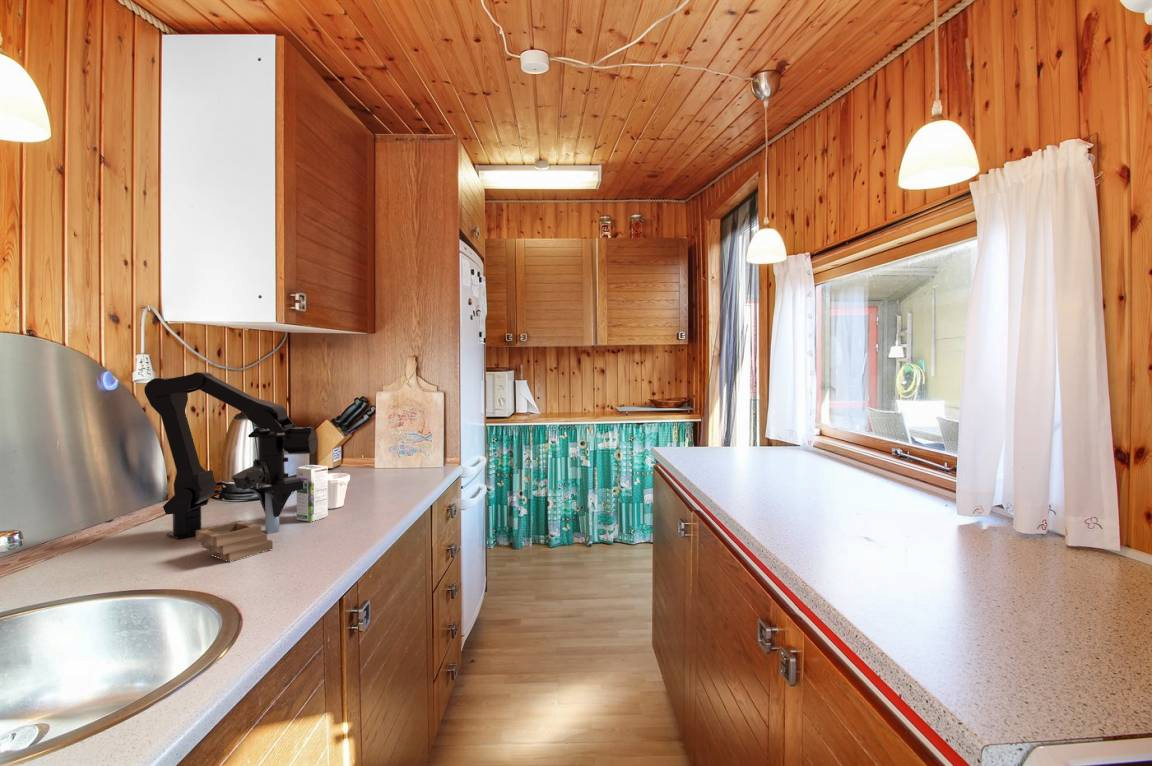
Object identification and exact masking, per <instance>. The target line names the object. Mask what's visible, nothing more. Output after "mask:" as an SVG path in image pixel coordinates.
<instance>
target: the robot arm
mask: <svg viewBox="0 0 1152 766" xmlns="http://www.w3.org/2000/svg"><path fill="white" fill-rule="evenodd" d="M143 391H144V395H145V397H146V399H147V402H148V403H149V405H150V406H151V408H153V410H154V411H156V413H157V414H158V415H160V418H161V421H162V424H163V428H164V433H165V435H166V439H167V442H168V445H169V449H170V453H171V455H172V456H171V457H172V459H173V462H174V463H173V464H174V466H175V470H176V471H175V472H176V473H175V477H174V481H173V493H174V495H173V496H172V497H171V498H170V499H169V500H168V501H167V502H166V503H164V505H163V506H162V509H163V512H164V513H165V514H166V515H172V531H169V532H167V533H166V536H168V537H171V538H174V539H177V540H181V539H185V538H189V537H193V536H196V531H197V530H201V529H204V528H203V527H202V524H203V523H202V507H204V506H206V505H208V502H209V500H210V498H212V497H213V495H214V493H215V491H216V486H217V485H218V483H217V482H216V480H215V477H214V471H213V469H209V470H206V469H205V468H203V467H202V465H201V463H200V459H199V455H198V452H197V449H196V446H195V441H194V438H193V434H192V432H191V428H190V427H191V426H190V425H189V420H188V417H187V413H186V408H187V405H188V401H189V395H188V394H190V393H194V392H197V391H201V392H203V393H205V394H207V395H209V396H211V397H213V398H215V399H217V400H218V401H221V402H222V403H224V404H227V405H228V406H230V407H232V408H234V409H235V410H238V411H240V412H241V413H242V414H244V416H245V417H246V419H248V421H250V422H251V423H253V424H254V425H255V426H257V427H255V428H254V430H253V431H252V432H251V433H249V434H248V436H247V437H248V438H257V457H258V458H255V459H254V460H253V464H252V466H251V467H248V468H247V467H246V468H245V469H243V470H241V471H239V472H237V473H235V474H233V475H232V476H231V479H232V481H233V484H234V485H235V487H236V489H241V490H243V491H245V490H250V491H251V492H253V493H254V494H256V495H257V497H258V499H259V501H260V504H261V506H262V509H263V511H264V513H265V493H266V494H268V495H269V496H270V497H271V500H272V508H273V514H274V517H278V516H279V517H280V516H281V513H282V511H283V509H284V507H285V505H286V503H287V501H288V499H289V498H290V496H291V494H292V493H293V492H297V490H302V489H304V481H303V480H302V479H301V478H297V476H292V477H289V473H288V472H285V469H286V467H285V466H286V465H285V463H286V462H289V457H286V456H285V452H287V453H288V454H289V455H314V454H315V453H316V451H317V449H318V444H319V443H318V441H319V439H318V438H317V434H316V432H315V427H314V426H307V427H297V426H296V425H295V423H294V422H293V421H292V420H291V419H290V417H289V416H288V412H287V409H286V408H285V407H284V406H283V405H281V404H279V403H275V402H272V401H269V400H264V399H261V398H256V397H254V396H252V395H250V394H248V393H247V392H244V391H242V390H240V388H237V387H235V386H234V385H231V384H229V383H227V382H225V381H224V380H221V379H220V378H218V377H216V376H214V375H213V374H212V373H210V372H207V371H205V372H200V371H199V372H197V371H196V372H193V373H191V374H186V375H182V376H176V377H157V378H151V379H150V380H149V381H148V382H147V383H146V384H145V386H144V387H143Z"/></svg>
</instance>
